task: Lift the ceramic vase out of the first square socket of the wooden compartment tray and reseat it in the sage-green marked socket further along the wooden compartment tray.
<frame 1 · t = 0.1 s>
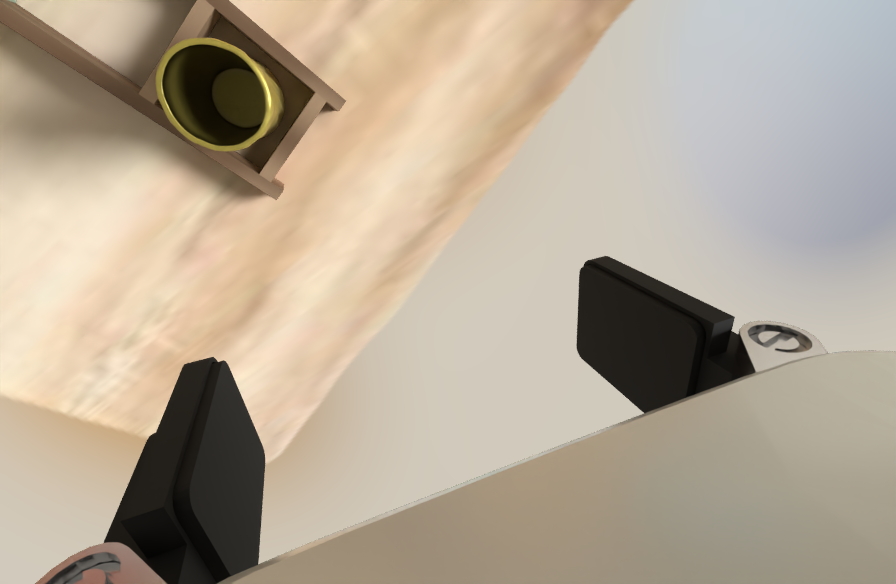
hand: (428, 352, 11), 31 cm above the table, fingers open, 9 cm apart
wooden compartment tray: (116, 3, 28), on the table
vase: (243, 98, 33), resting in wooden compartment tray
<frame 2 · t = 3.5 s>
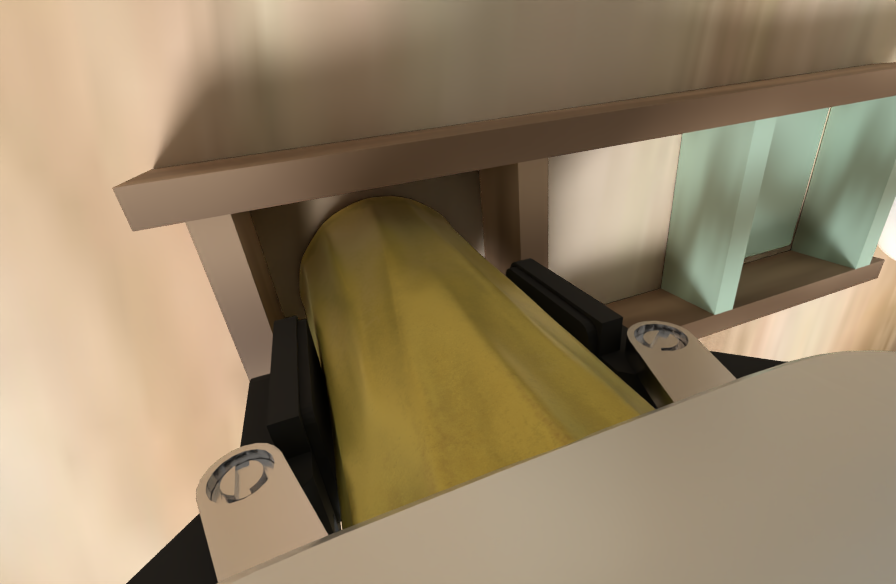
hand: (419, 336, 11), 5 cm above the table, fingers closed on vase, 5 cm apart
wooden compartment tray: (594, 229, 18), on the table
vase: (385, 275, 15), resting in wooden compartment tray, touching gripper
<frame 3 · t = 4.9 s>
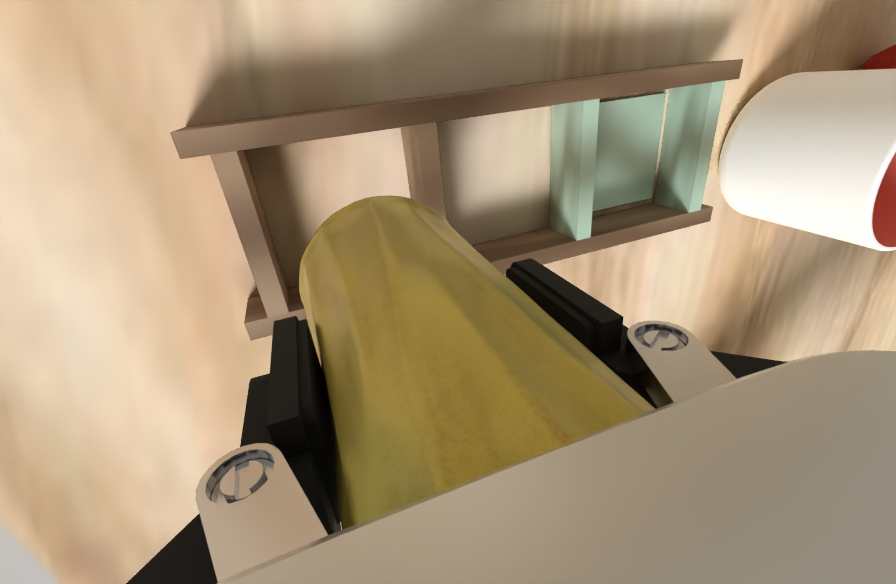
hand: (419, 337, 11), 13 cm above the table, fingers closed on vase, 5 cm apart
apple: (857, 91, 33), on the table
wooden compartment tray: (491, 179, 25), on the table
cup: (757, 146, 32), on the table
vase: (385, 275, 15), point 9 cm above the table, touching gripper
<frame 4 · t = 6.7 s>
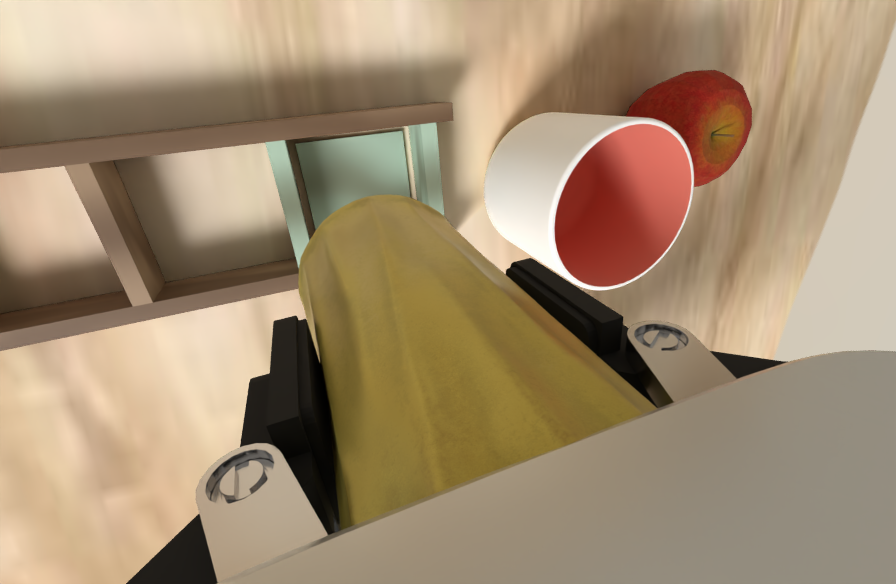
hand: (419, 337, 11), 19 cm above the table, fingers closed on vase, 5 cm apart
apple: (642, 128, 34), on the table
wooden compartment tray: (215, 212, 26), on the table
cup: (534, 180, 32), on the table
vase: (385, 274, 15), point 14 cm above the table, touching gripper
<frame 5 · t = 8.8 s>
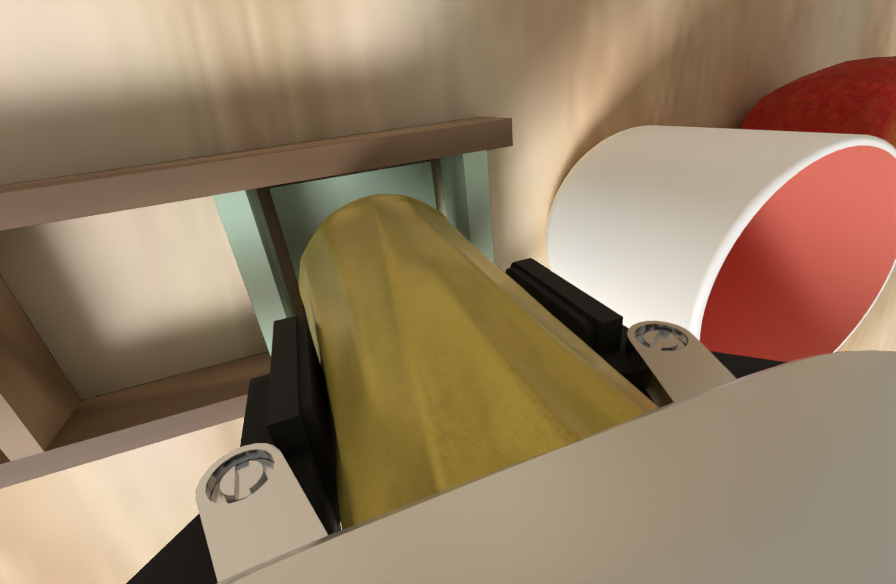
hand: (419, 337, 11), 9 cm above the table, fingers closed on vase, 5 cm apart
apple: (754, 141, 24), on the table
wooden compartment tray: (150, 295, 17), on the table
cup: (611, 219, 23), on the table
vase: (385, 274, 15), point 4 cm above the table, touching gripper
when the fingers open (6 cm above the table, at t = 10.3 s): vase drops 1 cm, resting on wooden compartment tray.
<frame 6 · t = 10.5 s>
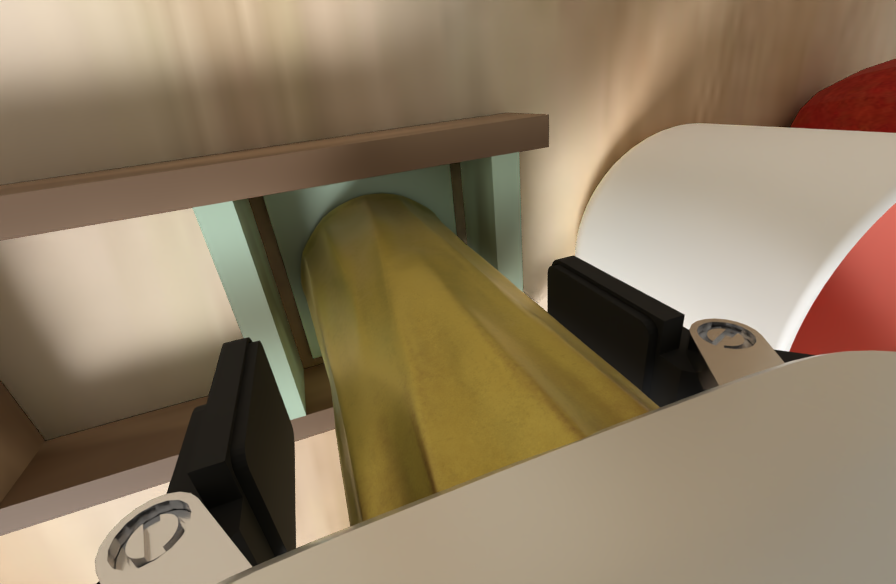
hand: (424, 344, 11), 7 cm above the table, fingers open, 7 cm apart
apple: (802, 140, 22), on the table
wooden compartment tray: (124, 320, 14), on the table
cup: (645, 228, 21), on the table
vase: (380, 267, 17), resting on wooden compartment tray
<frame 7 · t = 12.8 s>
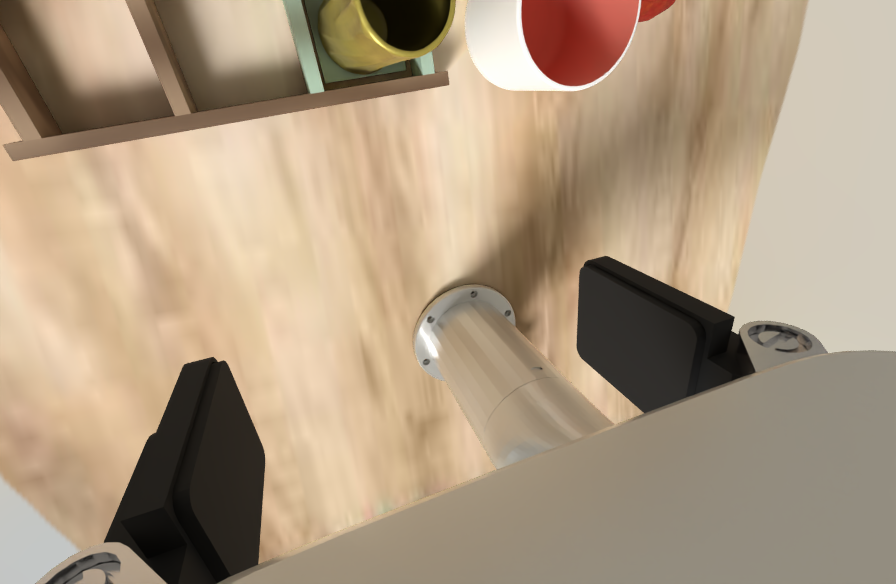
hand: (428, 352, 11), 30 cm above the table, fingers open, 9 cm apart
wooden compartment tray: (235, 43, 30), on the table
cup: (510, 27, 36), on the table
vase: (357, 30, 32), resting on wooden compartment tray
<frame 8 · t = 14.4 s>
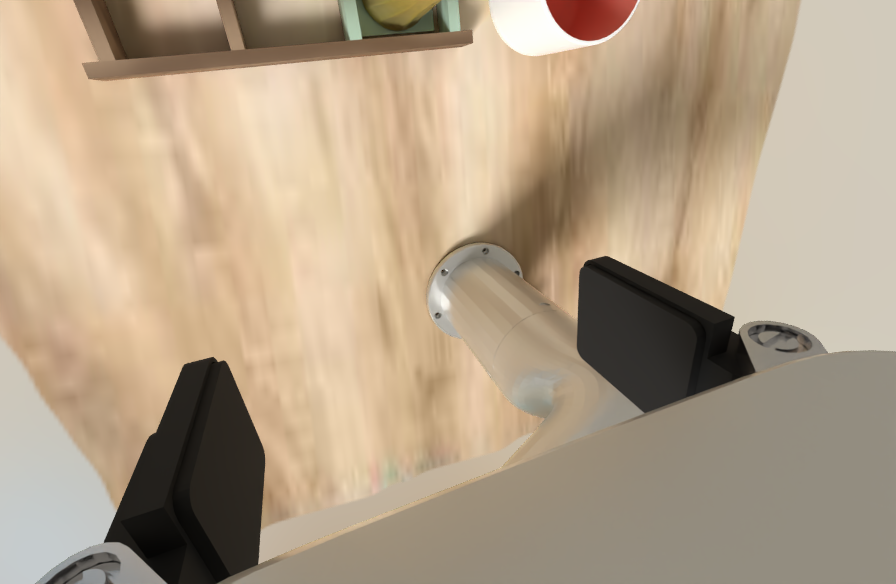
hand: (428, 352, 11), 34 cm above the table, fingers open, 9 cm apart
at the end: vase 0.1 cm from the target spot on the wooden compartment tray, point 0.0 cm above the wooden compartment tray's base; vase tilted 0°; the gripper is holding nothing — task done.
